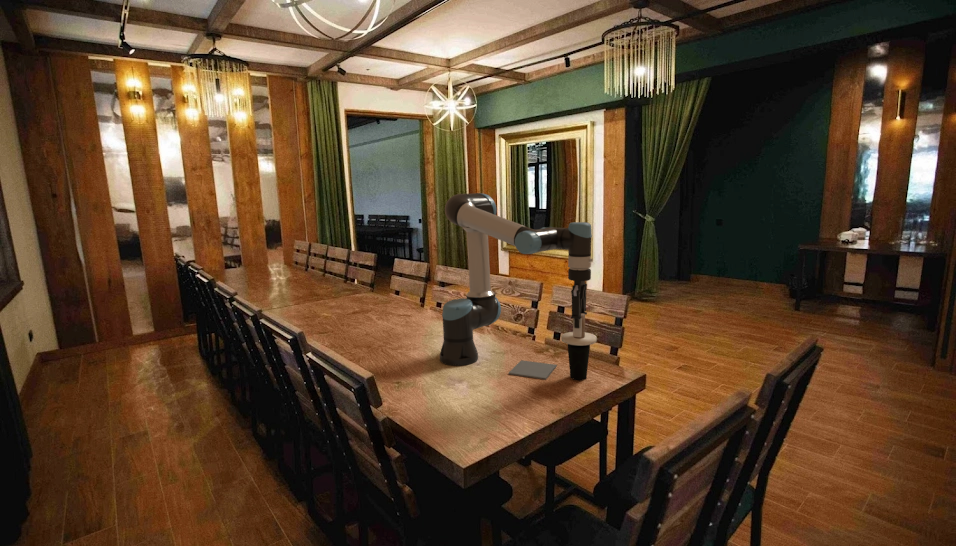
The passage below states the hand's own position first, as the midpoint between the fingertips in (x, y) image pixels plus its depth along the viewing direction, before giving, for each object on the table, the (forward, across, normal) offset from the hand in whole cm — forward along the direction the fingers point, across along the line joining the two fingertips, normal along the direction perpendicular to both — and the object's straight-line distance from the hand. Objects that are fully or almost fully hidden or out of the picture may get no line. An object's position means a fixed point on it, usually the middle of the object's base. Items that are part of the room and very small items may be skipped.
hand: (578, 334), depth 166 cm
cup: (+16, 0, 0) cm, 16 cm away
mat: (+16, +1, +17) cm, 23 cm away
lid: (+2, 0, 0) cm, 2 cm away
